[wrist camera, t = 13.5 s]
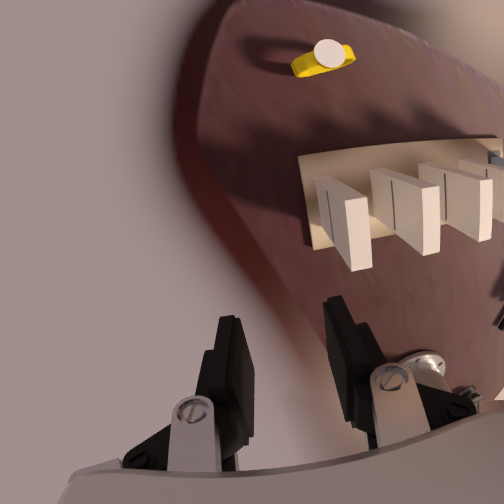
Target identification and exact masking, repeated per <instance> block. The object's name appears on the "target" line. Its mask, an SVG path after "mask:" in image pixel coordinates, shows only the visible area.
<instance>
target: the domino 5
mask: <svg viewBox="0 0 504 504" xmlns="http://www.w3.org/2000/svg"><path fill="white" fill-rule="evenodd" d="M491 164H492V165H496V166H500V167H504V158H502V157H491Z"/></svg>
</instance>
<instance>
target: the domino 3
mask: <svg viewBox="0 0 504 504" xmlns="http://www.w3.org/2000/svg"><path fill="white" fill-rule="evenodd" d="M418 174H419V179H420V180H423V181H426V182H429V183H432V184H435V185H438V186H439V195H440V220H442V221H444V222H445V223H447V224H449V225H451V226H453V227H454V228H456V229H458V230H459V231H461V232H463V233H465V234H466V235H468V236H470V237H471V238H473V239H474V240H476V241H478V242H481V241H484V240H488V239H491V229H492V205H493V180H492V179H491V178H487V177H484V176H480V175H477V174H473V173H470V172H466V171H462V170H459V169H455V168H451V167H447V166H443V165H438V164H434V163H430V162H428V163H418Z"/></svg>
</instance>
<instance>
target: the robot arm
mask: <svg viewBox="0 0 504 504" xmlns="http://www.w3.org/2000/svg"><path fill="white" fill-rule="evenodd" d="M323 310H324V319H325V330H326V340H327V352H328V359H329V362H330V366H331V370H332V373H333V377H334V380H335V384H336V388H337V392H338V395H339V399H340V403H341V406H342V410H343V414H344V418H345V421H346V422H348V421H351V424H352V428H357V429H359V430H362V431H364V432H365V438H366V446H367V451H366V452H362V453H358V454H354V455H350V456H345V457H341V458H336V459H331V460H326V461H321V462H315V463H310V464H303V465H296V466H290V467H281V468H272V469H262V470H248V471H239V463H238V454H237V451H238V450H239V449H241V448H242V447H243V446H245V445H249V437H253V436H254V375H255V374H254V367H253V363H252V359H251V356H250V352H249V349H248V345H247V342H246V338H245V335H244V331H243V328H242V324H241V320H240V318H235V316H234V315H229V316H223V317H220V319H219V323H218V329H217V334H216V340H215V345H214V349H213V350H206V351H205V353H204V356H203V361H202V365H201V369H200V374H199V379H198V383H197V388H196V393H195V396H191V397H187V398H185V399H183V400H181V401H180V402H179V403H178V404H177V405H176V407H175V408H174V410H173V413H172V422H171V424H170V425H168V426H167V427H165V428H164V429H162V430H161V431H159V432H157V433H156V434H154V435H153V436H151V437H150V438H148V439H147V440H145V441H144V442H142V443H141V444H139V445H137V446H136V447H134V448H133V449H131V450H130V451H129V452H127V454H126V455H125V456H124V459H123V460H119V459H118V458H117V459H113V460H111V461H107V462H104V463H101V464H98V465H94V466H91V467H88V468H84V469H80V470H78V471H75V472H74V473H73V474H72V475H71V476H70V478H69V482H68V485H67V487H66V488H65V490H64V491H63V493H62V495H61V497H60V499H59V501H58V503H57V504H504V400H479V402H478V403H473V401H471V400H470V399H469V398H467V397H465V396H462V395H458V394H454V393H452V391H451V389H450V388H449V386H448V384H447V383H446V381H445V380H444V378H443V376H444V373H445V362H444V360H443V358H442V357H441V356H440V355H439V354H438V353H436V352H433V351H422V352H418V353H414V354H412V355H409V356H407V357H405V358H403V359H402V360H400V361H399V362H397V363H387V361H386V359H385V357H384V355H383V353H382V351H381V349H380V347H379V345H378V343H377V341H376V339H375V337H374V335H373V333H372V331H371V329H370V328H369V326H368V324H367V323H366V322H364V323H360V324H356V325H355V323H354V321H353V319H352V316H351V314H350V312H349V310H348V308H347V306H346V304H345V302H344V300H343V298H342V296H341V295H339V296H334V297H329V298H327V302H323Z"/></svg>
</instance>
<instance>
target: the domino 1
mask: <svg viewBox="0 0 504 504" xmlns="http://www.w3.org/2000/svg"><path fill="white" fill-rule="evenodd" d="M314 179H315V185H316V192H317V198H318V204H319V211H320V218H321V225H322V228H323V229H324V231H325V232H326V234H327V235H328V237H329V238H330V240H331V241H332V243H333V244H334V246H335V247H336V249H337V250H338V251H339V253H340V254H341V256H342V258H343V259H344V261H345V262H346V264H347V265H348V267H349V268H350V270H351V271H357V270H362V269H366V268H371V267H372V253H371V237H370V224H369V213H368V202H367V197H366V196H364V195H363V194H361V193H359V192H358V191H356V190H354V189H352V188H351V187H349V186H347V185H345V184H344V183H342V182H340V181H338V180H337V179H335V178H333V177H331V176H324V177H318V178H314Z"/></svg>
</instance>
